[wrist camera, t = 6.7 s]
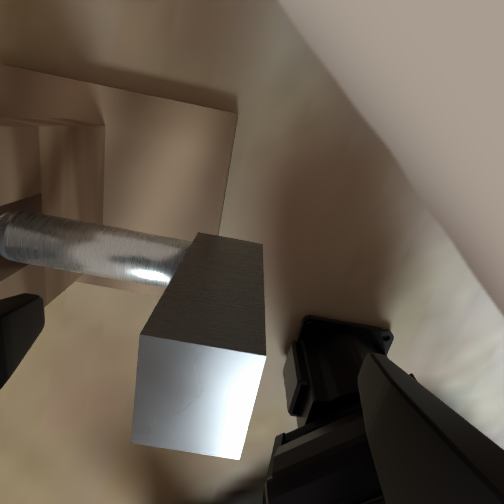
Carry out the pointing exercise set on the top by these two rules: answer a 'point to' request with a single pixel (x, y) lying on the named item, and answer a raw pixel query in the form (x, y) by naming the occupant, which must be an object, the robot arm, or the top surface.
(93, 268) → the shaft
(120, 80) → the top surface
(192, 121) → the bearing stand
